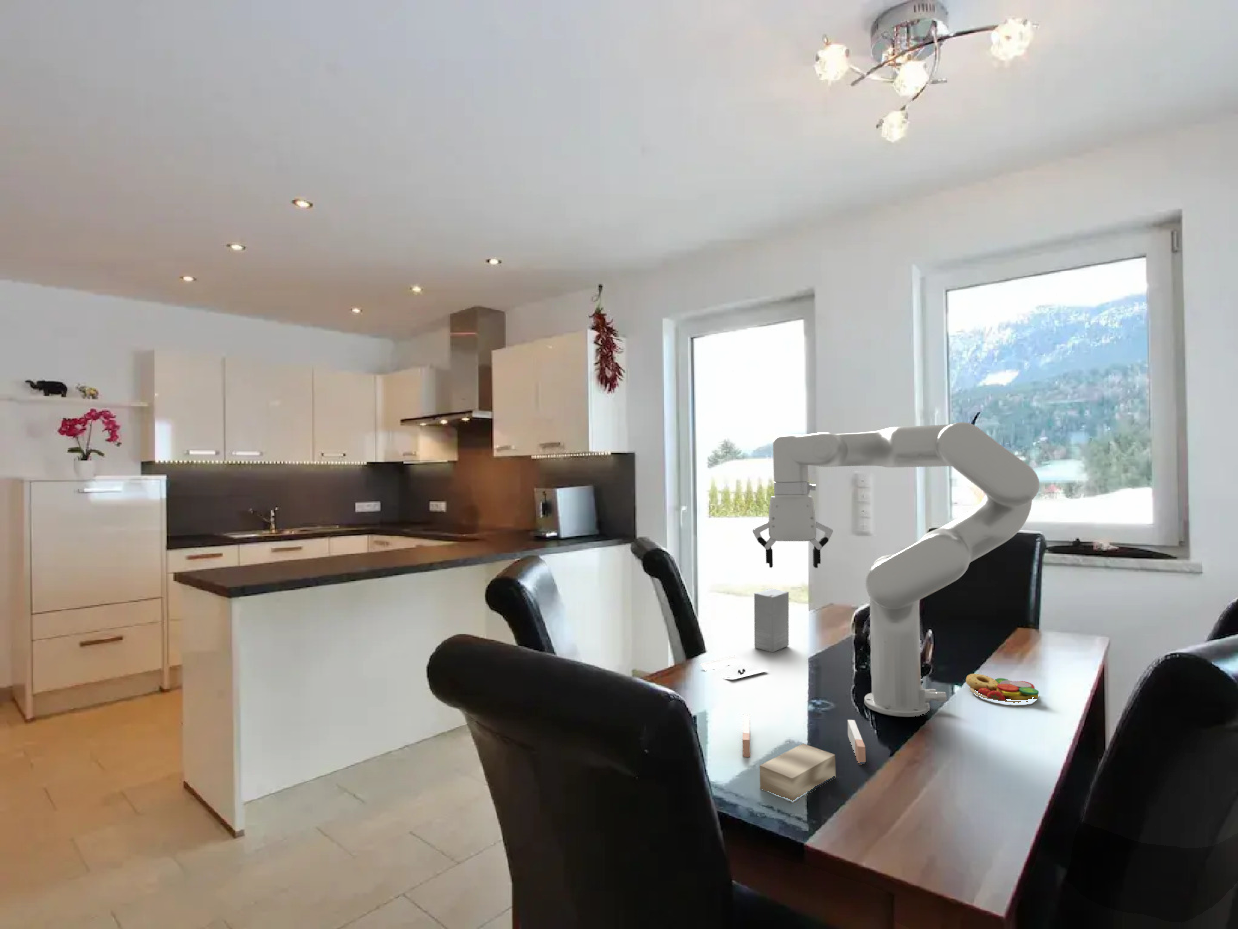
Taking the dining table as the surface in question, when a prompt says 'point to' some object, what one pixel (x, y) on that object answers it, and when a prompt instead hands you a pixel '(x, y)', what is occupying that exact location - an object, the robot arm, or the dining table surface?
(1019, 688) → the toy food set
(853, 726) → the walled lane
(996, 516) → the robot arm
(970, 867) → the dining table surface
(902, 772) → the dining table surface
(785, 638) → the skincare box
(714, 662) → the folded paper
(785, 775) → the birch block
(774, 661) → the dining table surface
